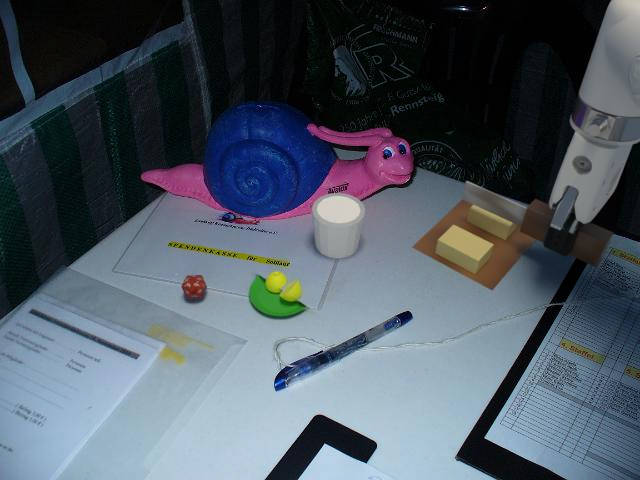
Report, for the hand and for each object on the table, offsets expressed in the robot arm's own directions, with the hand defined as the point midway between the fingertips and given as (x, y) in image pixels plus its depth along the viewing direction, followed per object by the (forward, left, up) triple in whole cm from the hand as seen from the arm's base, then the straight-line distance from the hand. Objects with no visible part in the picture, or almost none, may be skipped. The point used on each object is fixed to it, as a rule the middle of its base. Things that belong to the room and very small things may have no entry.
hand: (561, 243), depth 75 cm
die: (+32, +33, -5) cm, 46 cm away
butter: (+10, +6, -4) cm, 12 cm away
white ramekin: (+24, +15, -5) cm, 29 cm away
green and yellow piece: (+24, +26, -5) cm, 36 cm away
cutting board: (+10, +2, -5) cm, 11 cm away
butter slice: (+10, -2, -4) cm, 11 cm away
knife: (+5, 0, 0) cm, 5 cm away
